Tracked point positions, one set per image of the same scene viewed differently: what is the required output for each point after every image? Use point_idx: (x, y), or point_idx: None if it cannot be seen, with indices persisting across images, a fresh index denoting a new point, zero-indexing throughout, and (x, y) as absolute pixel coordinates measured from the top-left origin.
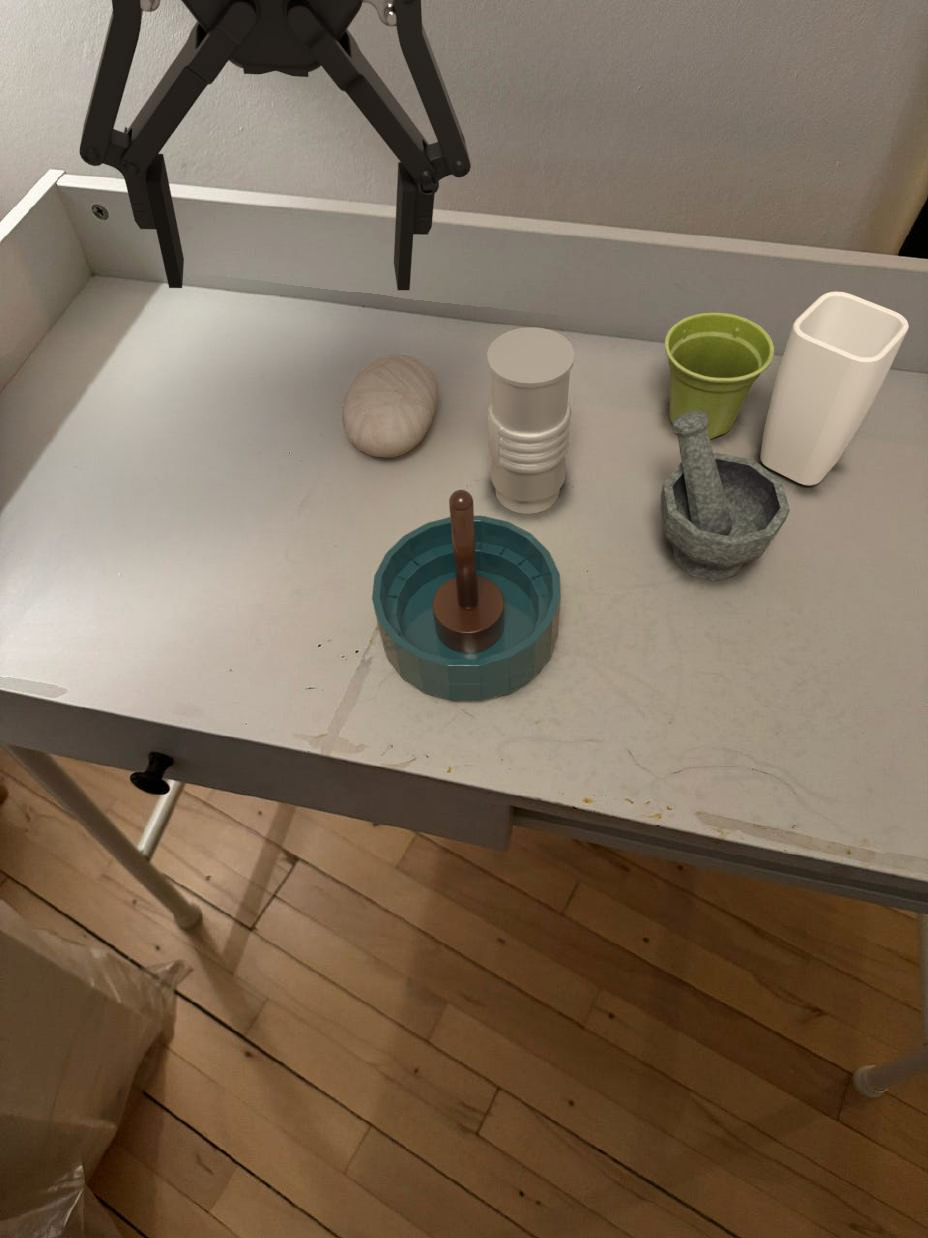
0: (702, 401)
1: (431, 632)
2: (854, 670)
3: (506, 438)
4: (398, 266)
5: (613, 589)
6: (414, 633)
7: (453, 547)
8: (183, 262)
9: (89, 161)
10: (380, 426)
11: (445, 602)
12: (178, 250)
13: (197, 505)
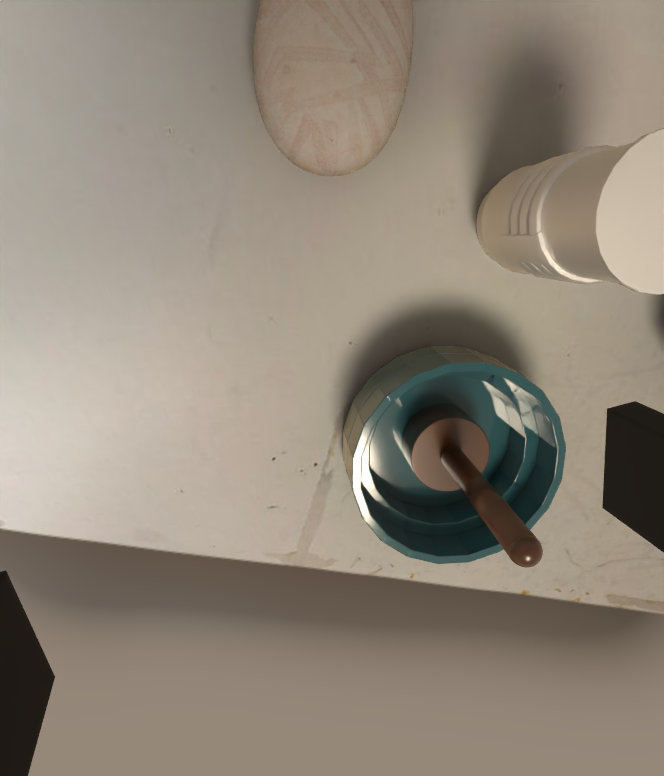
0: None
1: (397, 450)
2: None
3: (551, 272)
4: (653, 538)
5: (591, 379)
6: (379, 452)
7: (477, 511)
8: (13, 592)
9: None
10: (330, 146)
11: (425, 455)
12: (7, 694)
13: (55, 243)
